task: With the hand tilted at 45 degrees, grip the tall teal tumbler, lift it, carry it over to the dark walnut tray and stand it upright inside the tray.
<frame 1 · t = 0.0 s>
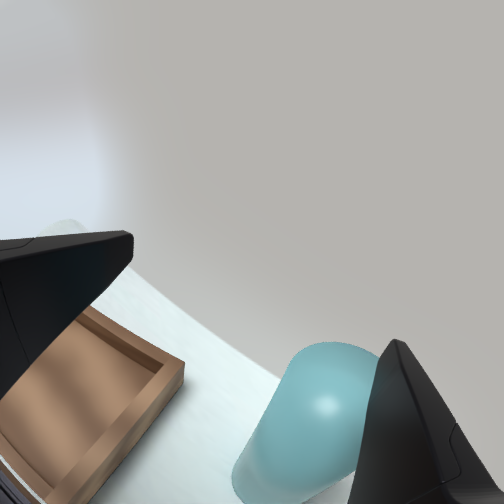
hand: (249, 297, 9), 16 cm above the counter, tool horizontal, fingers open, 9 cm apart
tray: (64, 398, 18), on the counter
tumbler: (272, 478, 16), on the counter
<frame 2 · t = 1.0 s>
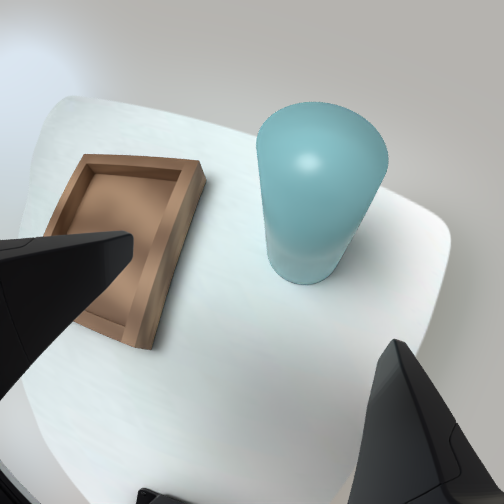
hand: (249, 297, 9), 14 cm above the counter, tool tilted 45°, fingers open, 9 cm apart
tray: (113, 243, 25), on the counter
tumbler: (303, 248, 24), on the counter
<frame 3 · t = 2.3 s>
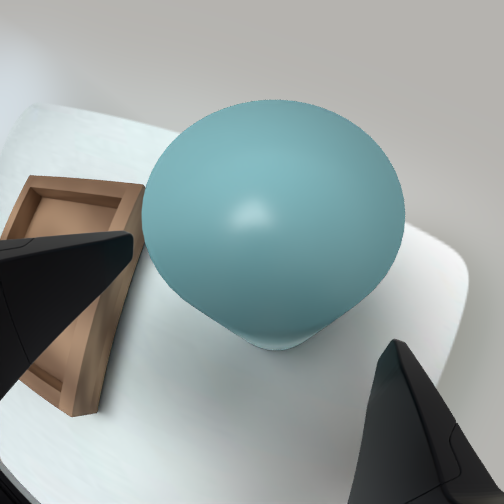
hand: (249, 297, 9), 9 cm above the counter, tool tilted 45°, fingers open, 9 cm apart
tray: (57, 283, 20), on the counter
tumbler: (276, 301, 18), on the counter
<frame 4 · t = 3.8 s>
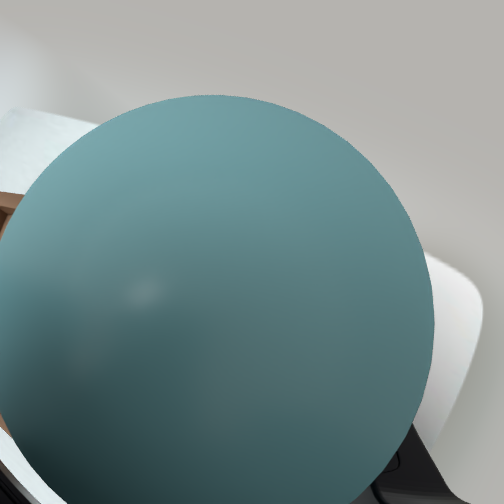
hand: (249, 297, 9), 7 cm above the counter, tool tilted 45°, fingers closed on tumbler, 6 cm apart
tray: (21, 311, 16), on the counter
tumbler: (251, 348, 14), on the counter, touching gripper
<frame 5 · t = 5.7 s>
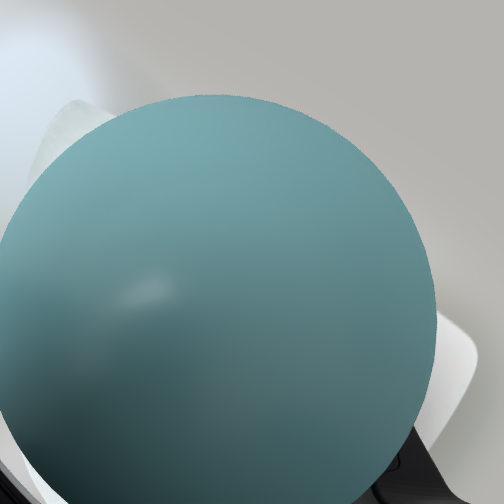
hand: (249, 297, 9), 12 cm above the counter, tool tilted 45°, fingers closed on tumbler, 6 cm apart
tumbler: (251, 347, 14), point 6 cm above the counter, touching gripper
when the fingers open (9 cm above the counter, at t = 7.9 s): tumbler drops 1 cm, resting on tray.
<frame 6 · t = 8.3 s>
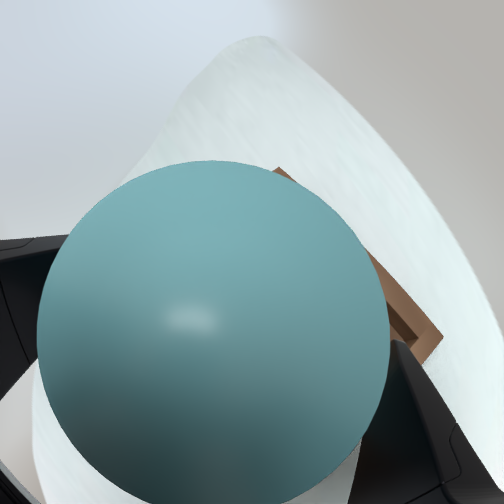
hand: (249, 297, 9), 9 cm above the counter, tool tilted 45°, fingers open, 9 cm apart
tray: (255, 348, 17), on the counter
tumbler: (252, 348, 16), point 1 cm above the counter, touching tray
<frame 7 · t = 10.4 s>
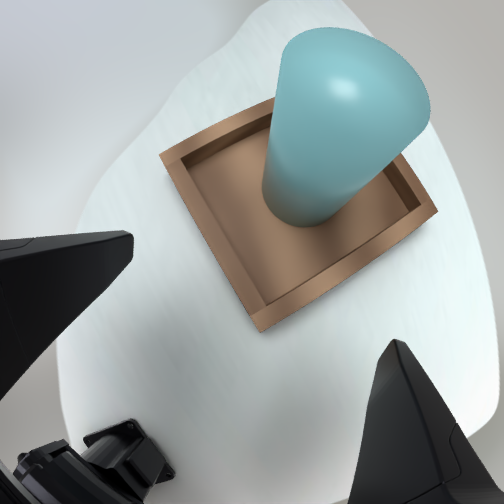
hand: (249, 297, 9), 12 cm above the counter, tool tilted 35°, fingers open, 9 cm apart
tray: (301, 192, 22), on the counter
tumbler: (302, 187, 21), point 1 cm above the counter, touching tray
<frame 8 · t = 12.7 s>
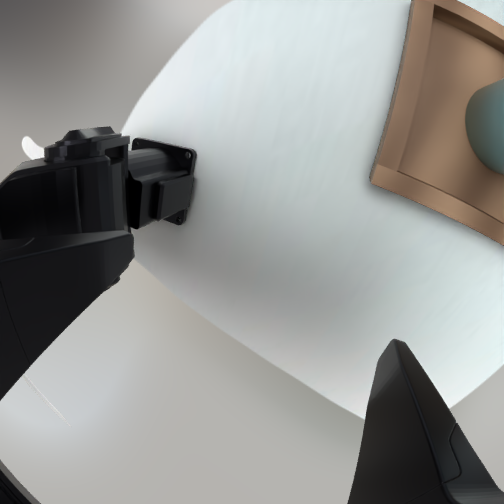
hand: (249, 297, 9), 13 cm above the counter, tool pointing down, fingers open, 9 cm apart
tray: (496, 130, 13), on the counter
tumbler: (501, 129, 12), point 1 cm above the counter, touching tray
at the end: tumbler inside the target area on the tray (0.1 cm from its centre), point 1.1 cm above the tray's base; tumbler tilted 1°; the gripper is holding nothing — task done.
